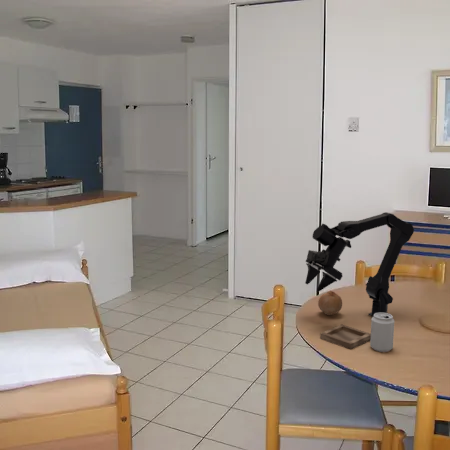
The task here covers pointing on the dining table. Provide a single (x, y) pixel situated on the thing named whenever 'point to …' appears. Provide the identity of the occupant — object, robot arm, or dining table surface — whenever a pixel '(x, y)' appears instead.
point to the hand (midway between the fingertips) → (311, 287)
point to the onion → (330, 303)
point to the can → (382, 332)
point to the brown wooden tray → (345, 336)
